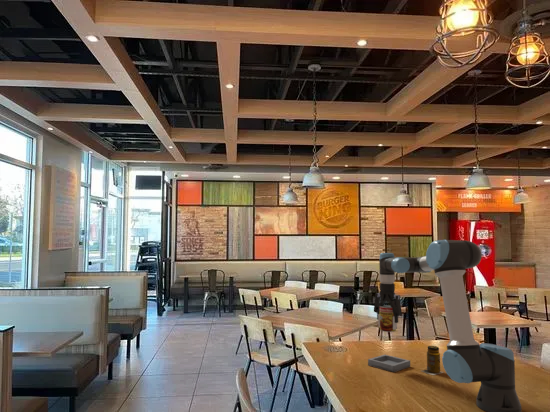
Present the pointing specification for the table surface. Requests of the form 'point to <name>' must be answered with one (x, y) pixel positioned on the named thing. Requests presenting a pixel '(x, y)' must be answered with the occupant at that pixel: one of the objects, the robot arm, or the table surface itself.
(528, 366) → the table surface
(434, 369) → the condiment
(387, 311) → the canned food
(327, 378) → the table surface
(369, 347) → the table surface
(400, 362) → the holder
